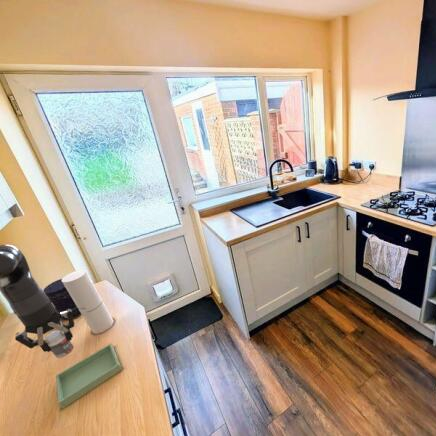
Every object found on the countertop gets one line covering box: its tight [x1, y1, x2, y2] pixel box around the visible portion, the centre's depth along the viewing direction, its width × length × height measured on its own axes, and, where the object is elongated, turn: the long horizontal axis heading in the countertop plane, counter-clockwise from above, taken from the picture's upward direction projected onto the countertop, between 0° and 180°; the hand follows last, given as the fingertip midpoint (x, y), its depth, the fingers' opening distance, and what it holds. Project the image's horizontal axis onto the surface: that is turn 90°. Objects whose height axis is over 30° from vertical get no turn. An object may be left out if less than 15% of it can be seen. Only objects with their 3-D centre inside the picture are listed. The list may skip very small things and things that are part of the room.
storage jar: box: [42, 278, 82, 321], centre depth 105 cm, size 10×10×15 cm
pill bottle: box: [44, 329, 75, 359], centre depth 81 cm, size 5×5×8 cm
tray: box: [55, 343, 123, 409], centre depth 79 cm, size 15×12×2 cm
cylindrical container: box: [61, 269, 114, 335], centre depth 93 cm, size 7×7×25 cm
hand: (59, 344), depth 82 cm, fingers closed on pill bottle, 4 cm apart
